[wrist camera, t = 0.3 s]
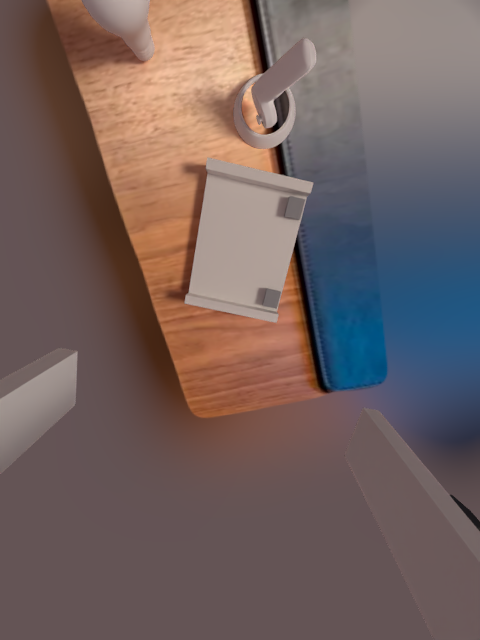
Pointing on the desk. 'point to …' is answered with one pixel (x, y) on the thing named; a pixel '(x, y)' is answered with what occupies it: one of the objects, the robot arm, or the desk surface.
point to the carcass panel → (245, 239)
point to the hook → (274, 95)
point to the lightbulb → (125, 23)
